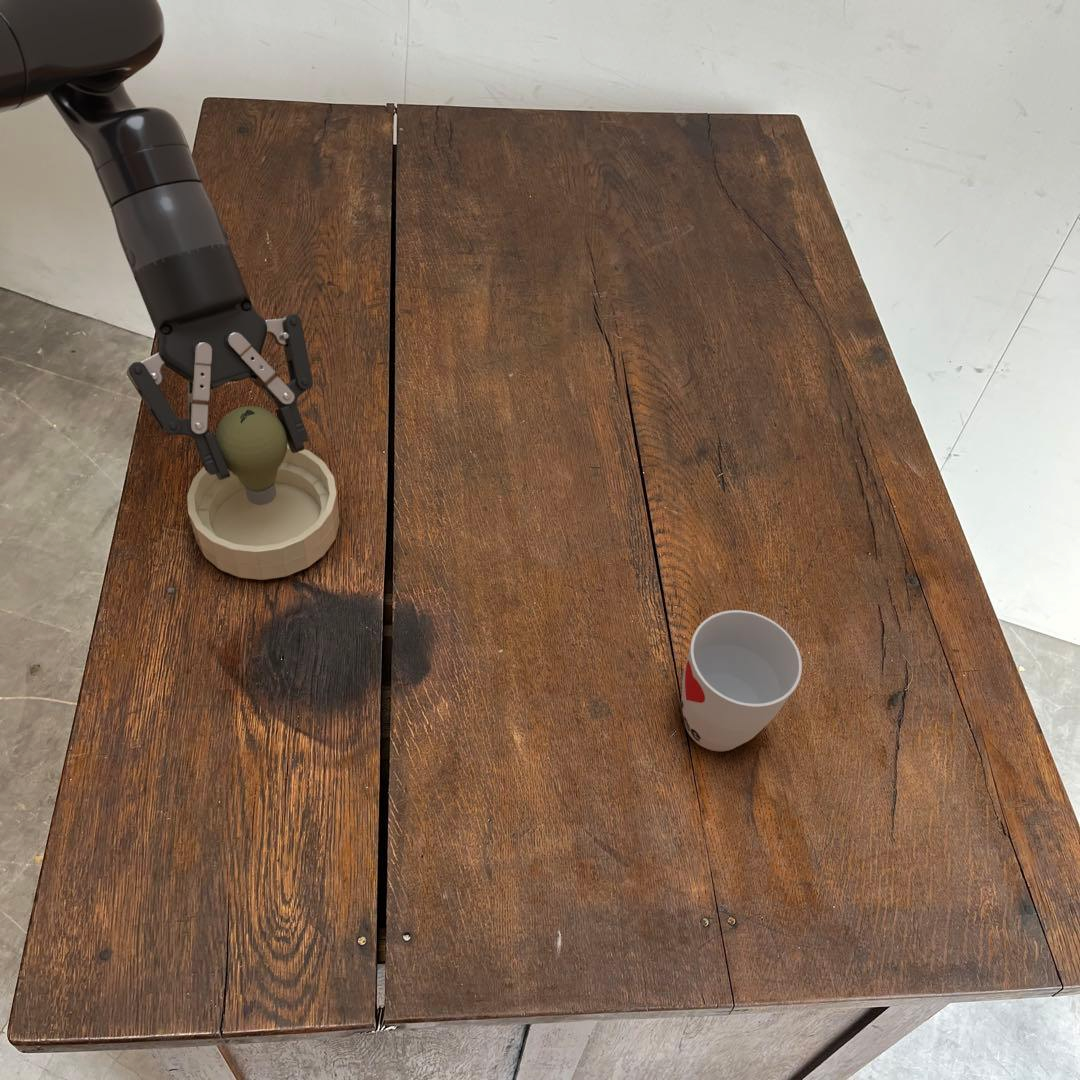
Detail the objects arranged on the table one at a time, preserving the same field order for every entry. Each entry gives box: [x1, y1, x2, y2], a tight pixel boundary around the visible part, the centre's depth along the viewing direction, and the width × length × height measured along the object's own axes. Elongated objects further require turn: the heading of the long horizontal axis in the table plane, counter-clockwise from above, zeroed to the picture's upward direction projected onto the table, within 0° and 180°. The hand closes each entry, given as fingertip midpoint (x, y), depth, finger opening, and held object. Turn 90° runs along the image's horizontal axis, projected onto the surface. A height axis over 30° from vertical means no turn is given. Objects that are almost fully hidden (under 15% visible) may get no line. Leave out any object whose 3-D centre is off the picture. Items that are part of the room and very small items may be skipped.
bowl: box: [186, 444, 341, 581], centre depth 89 cm, size 12×12×4 cm
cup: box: [680, 609, 803, 752], centre depth 78 cm, size 8×8×10 cm
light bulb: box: [214, 405, 288, 505], centre depth 84 cm, size 6×6×10 cm
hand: (261, 463), depth 82 cm, fingers closed on light bulb, 5 cm apart
